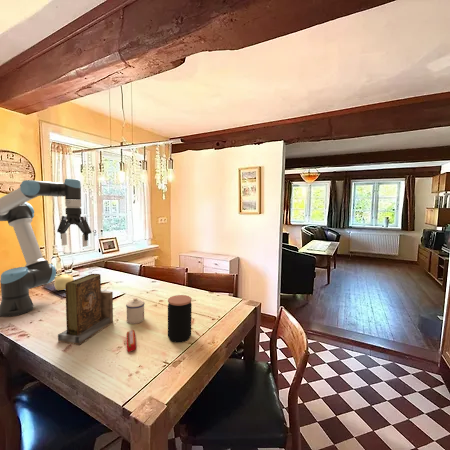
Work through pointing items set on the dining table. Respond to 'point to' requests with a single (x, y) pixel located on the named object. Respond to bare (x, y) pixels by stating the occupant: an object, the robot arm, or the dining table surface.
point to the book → (83, 303)
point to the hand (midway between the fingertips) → (74, 245)
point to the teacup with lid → (135, 311)
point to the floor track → (103, 311)
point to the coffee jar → (179, 318)
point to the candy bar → (131, 341)
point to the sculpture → (62, 281)
